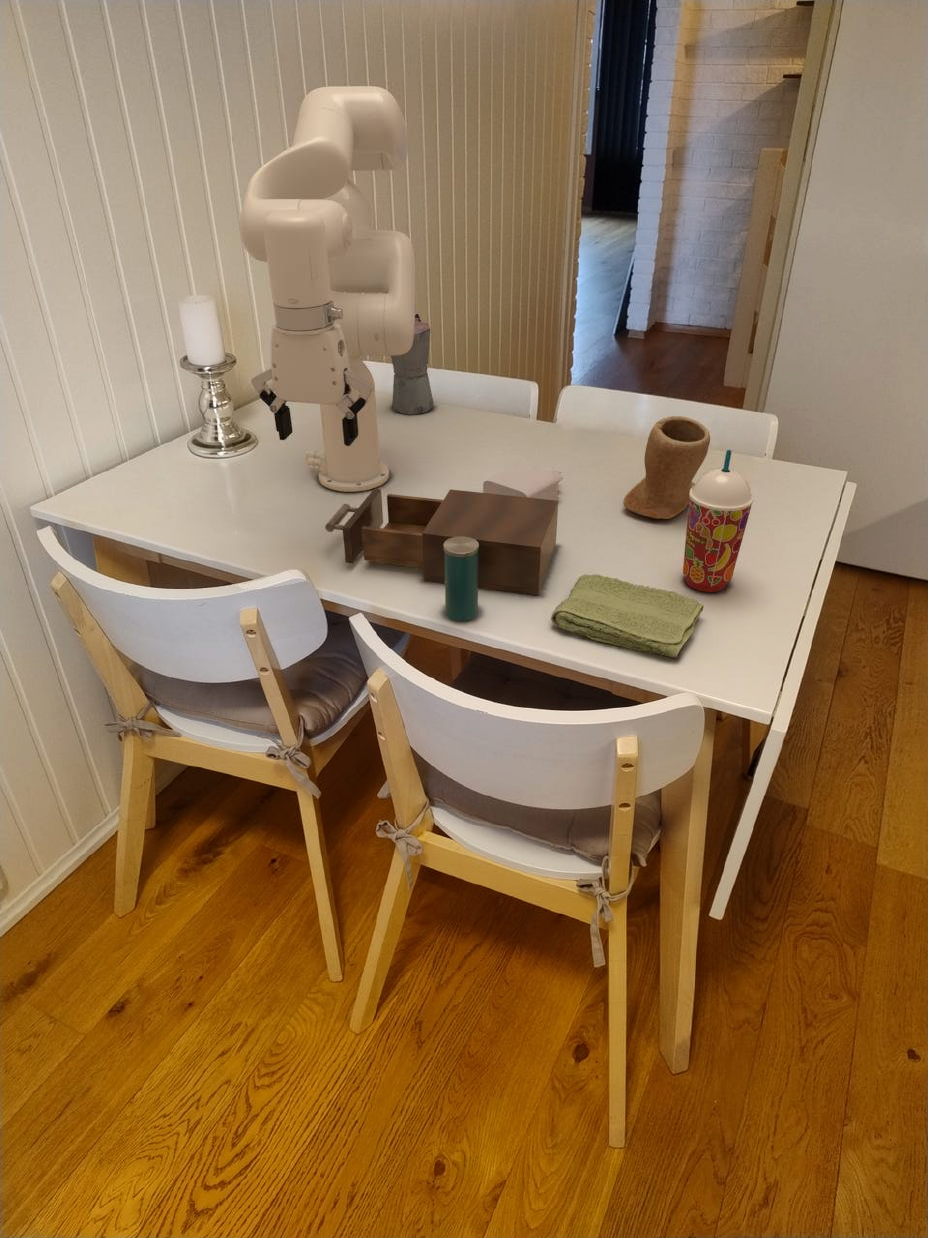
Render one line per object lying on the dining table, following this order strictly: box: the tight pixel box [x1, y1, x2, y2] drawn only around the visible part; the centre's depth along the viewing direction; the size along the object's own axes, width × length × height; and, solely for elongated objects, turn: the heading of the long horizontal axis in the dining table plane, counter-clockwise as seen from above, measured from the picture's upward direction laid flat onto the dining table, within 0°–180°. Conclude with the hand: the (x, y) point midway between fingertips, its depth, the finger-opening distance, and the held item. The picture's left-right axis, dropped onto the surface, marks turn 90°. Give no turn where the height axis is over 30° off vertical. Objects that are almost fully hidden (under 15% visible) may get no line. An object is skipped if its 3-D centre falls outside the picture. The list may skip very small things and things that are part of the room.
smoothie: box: [682, 449, 755, 593], centre depth 114 cm, size 8×8×20 cm
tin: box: [443, 536, 479, 622], centre depth 111 cm, size 5×5×10 cm
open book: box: [482, 463, 564, 501], centre depth 142 cm, size 5×9×15 cm
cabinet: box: [422, 489, 559, 596], centre depth 123 cm, size 17×15×8 cm
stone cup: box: [622, 415, 711, 520], centre depth 137 cm, size 15×12×15 cm
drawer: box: [324, 488, 444, 569], centre depth 126 cm, size 20×14×6 cm
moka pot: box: [390, 313, 435, 416], centre depth 176 cm, size 10×15×20 cm, turn 171°
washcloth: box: [550, 573, 705, 658], centre depth 111 cm, size 13×18×3 cm
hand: (318, 439), depth 119 cm, fingers open, 9 cm apart
